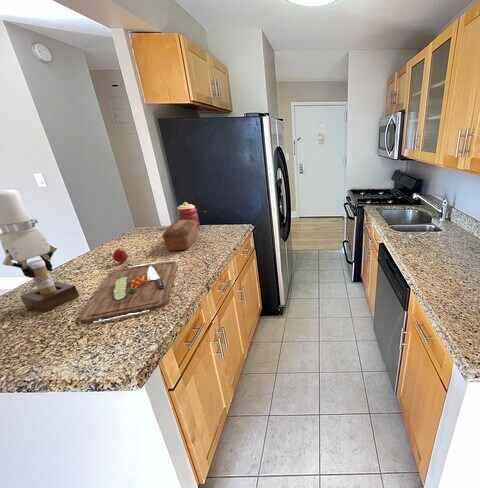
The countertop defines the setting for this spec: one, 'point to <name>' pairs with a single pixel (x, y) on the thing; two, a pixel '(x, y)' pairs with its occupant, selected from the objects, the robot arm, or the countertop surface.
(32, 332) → the countertop surface
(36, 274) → the sprinkles bottle
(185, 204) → the kitchen canister
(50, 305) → the spice block
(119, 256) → the red rounded lump
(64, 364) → the countertop surface
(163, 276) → the chopping board
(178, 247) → the bread
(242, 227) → the countertop surface
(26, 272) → the robot arm
